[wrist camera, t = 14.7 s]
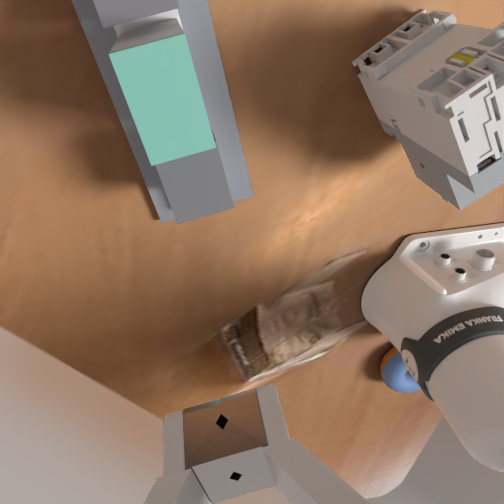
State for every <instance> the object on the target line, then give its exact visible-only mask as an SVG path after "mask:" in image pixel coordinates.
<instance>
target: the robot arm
mask: <svg viewBox="0 0 504 504" xmlns="http://www.w3.org/2000/svg"><path fill="white" fill-rule="evenodd" d="M421 243H422V244H421ZM361 308H362V313H363V315H364V317H365V319H366V320H367V321H368V322H369V323H370V324H371V325H373V326H374V327H375V328H377V329H378V330H379V331H380V332H381V333H382V334H383V335H384V336H385V337H386V338H387V339H388V340H389V341H390V342H391V343H392V344H393V345H394V347H395V348H396V349H397V350H398V351H399V353H400V354H401V357H402V359H403V362H404V364H405V366H406V367H407V369H408V371H409V373H410V374H411V376H412V377H413V379H414V380H415V381H416V382H417V383H418V385H419V386H420V388H421V389H422V390H423V392H424V393H425V395H426V396H427V397H428V398H429V399H430V400H432V401H434V402H435V403H436V405H437V406H438V408H439V409H440V411H441V412H442V414H443V416H444V417H445V418H446V420H447V422H448V423H449V425H450V426H451V427H452V429H453V430H454V432H455V434H456V435H457V437H458V438H459V440H460V441H461V443H462V444H463V446H464V447H465V449H466V450H467V452H468V453H469V454H470V455H471V456H472V457H474V458H475V459H476V460H477V461H478V462H480V463H481V464H483V465H484V466H487V467H489V468H491V469H493V470H496V471H499V472H504V223H499V224H491V225H483V226H475V227H467V228H460V229H452V230H444V231H436V232H429V233H421V234H413V235H410V236H408V237H407V238H405V239H404V240H403V242H402V243H401V244H400V246H399V248H398V249H397V251H396V252H395V254H394V255H393V256H392V258H391V259H389V260H388V261H387V262H386V263H385V264H384V265H383V266H381V267H380V268H379V269H378V270H377V271H376V272H375V274H374V275H373V276H372V277H371V279H370V280H369V282H368V283H367V285H366V287H365V289H364V292H363V295H362V300H361ZM273 486H276V487H277V488H278V489H279V491H280V492H281V493H282V494H283V495H284V496H285V497H286V499H288V501H289V502H290V503H291V504H369V503H368V501H366V499H364V498H363V497H362V496H361V495H360V494H359V493H358V492H356V491H355V490H354V489H353V488H352V487H351V486H350V485H348V484H347V483H346V482H345V481H344V480H343V479H342V478H341V477H339V476H338V475H337V474H336V473H335V472H334V471H333V470H331V469H330V468H329V467H328V466H327V465H326V464H325V463H324V462H322V461H321V460H320V459H319V458H318V457H317V456H316V455H314V454H313V453H312V452H311V451H310V450H309V449H308V448H307V447H305V446H304V445H303V444H302V443H301V442H300V441H299V440H297V439H296V438H293V439H290V435H289V432H288V428H287V424H286V421H285V417H284V414H283V410H282V407H281V403H280V400H279V396H278V393H277V389H276V386H275V384H274V383H272V384H269V385H266V386H262V387H259V388H254V389H250V390H247V391H244V392H241V393H237V394H234V395H231V396H227V397H224V398H221V399H220V400H216V401H213V402H209V403H205V404H201V405H197V406H194V407H190V408H186V409H182V410H179V411H175V412H172V413H168V414H165V417H164V421H163V476H162V477H159V478H157V480H156V482H155V483H154V485H153V487H152V489H151V491H150V492H149V494H148V496H147V498H146V500H145V502H144V503H143V504H215V503H218V502H221V501H224V500H227V499H231V498H234V497H237V496H240V495H243V494H246V493H250V492H254V491H257V490H261V489H265V488H269V487H273Z"/></svg>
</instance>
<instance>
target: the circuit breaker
mask: <svg viewBox="0 0 504 504" xmlns="http://www.w3.org/2000/svg"><path fill="white" fill-rule="evenodd" d="M438 19H439V21H438ZM416 22H417V23H416ZM456 22H457V20H456V18H455V16H454V14H453V13H448V12H441V11H431V12H430V13H426V10H425V9H423V10H421V11H420V12H419V13H417V14H416V15H415V16H413V17H412V18H411V19H409V20H408V21H407V22H405V23H404V24H402V25H401V26H400V27H398V28H397V29H396V30H394V31H393V32H392V33H390V34H389V35H388V36H386V37H385V38H384V39H382V40H381V41H379V42H378V43H377V44H375V45H374V46H373V47H371V48H370V49H369V50H367V51H366V52H365V53H363V54H362V55H361V56H359V57H358V58H356V59H355V60H354V61H352V64H353V66H357V65H358V67H359V69H360V71H361V72H360V73H359V74H357V75H358V77H359V79H360V81H361V83H362V85H363V87H364V90H365V92H366V94H367V96H368V98H369V100H370V102H371V104H372V107H373V109H374V111H375V113H376V115H377V117H378V119H379V122H380V124H381V126H382V128H383V130H384V132H386V133H387V134H389V135H390V136H392V137H394V136H396V140H398V141H399V142H400V143H402V145H403V148H404V150H405V152H406V154H407V156H408V159H409V161H410V163H411V165H412V167H413V170H414V172H415V174H416V176H417V177H418V178H419V179H420V180H422V181H423V182H424V183H425V184H427V185H428V186H429V187H431V188H432V189H433V190H435V191H436V192H437V193H438V194H440V195H441V196H442V198H443V199H444V200H445V201H447V202H448V201H449V202H450V203H451V204H453V205H454V206H455V207H457V208H458V209H459V210H462V209H463V208H465V207H466V206H468V205H469V204H471V203H473V202H474V201H476V200H477V199H479V198H480V197H482V196H484V195H485V194H487V193H488V192H490V191H491V190H493V189H495V188H496V187H498V186H499V185H501V184H502V183H504V22H503V23H501V24H500V25H498V26H497V27H496V28H494V29H493V30H492V29H486V28H479V27H473V26H467V25H461V24H456ZM407 27H409V29H410V30H408V31H407V32H405V31H403V30H404V29H405V28H407ZM396 36H397V37H396ZM386 43H388V44H386ZM380 47H381V48H382V50H381V51H380V52H378V53H376V52H374V51H375V50H377V49H378V48H380ZM367 57H369V59H370V61H371V63H372V64H370V65H369V66H368V65H367V66H366V64H365V62H364V61H363V60H365V59H366V58H367Z"/></svg>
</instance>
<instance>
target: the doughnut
mask: <svg viewBox="0 0 504 504" xmlns="http://www.w3.org/2000/svg"><path fill="white" fill-rule="evenodd" d="M380 374H381V376H382V378H383V380H384V382H385V384H386V385H387V386H388V387H389V388H391V389H393V390H394V391H397V392H403V393H407V392H414V391H418V390H421V388H420V386H419V385H418V383H417V382H416V381H415V380H414V379H413V377H412V376H411V374H410V373H409V371H408V369H407V367H406V366H405V364H404V362H403V359H402V357H401V354H400V353H399V351H398V350H397V349H396V348H395V347H394V346H393V347H392V348H391V349H390V350H389V351H388V352H387V353H386V354H385V356H384V357H383V359H382V362H381V364H380Z"/></svg>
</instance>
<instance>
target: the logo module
mask: <svg viewBox="0 0 504 504" xmlns="http://www.w3.org/2000/svg"><path fill="white" fill-rule="evenodd" d="M109 57H110V59H111V62H112V65H113V67H114V70H115V72H116V75H117V78H118V80H119V83H120V85H121V88H122V91H123V93H124V96H125V99H126V101H127V104H128V106H129V109H130V112H131V114H132V117H133V119H134V122H135V125H136V127H137V130H138V132H139V135H140V138H141V140H142V143H143V145H144V148H145V151H146V153H147V156H148V158H149V161H150V164H151V166H153V165H156V164H160V163H164V162H167V161H171V160H174V159H178V158H181V157H185V156H188V155H192V154H195V153H199V152H202V151H206V150H209V149H213V148H216V145H215V141H214V138H213V134H212V130H211V127H210V123H209V120H208V116H207V112H206V109H205V105H204V101H203V98H202V94H201V91H200V87H199V83H198V80H197V76H196V73H195V69H194V65H193V62H192V58H191V55H190V51H189V47H188V44H187V40H186V36H185V33H184V31H183V29H182V27H181V26H180V24H179V22H178V20H177V19H173V20H169V21H165V22H162V23H158V24H154V25H151V26H147V27H143V28H139V29H136V30H132V31H128V32H125V33H121V34H120V35H119V37H118V38H117V40H116V42H115V44H114V45H113V47H112V49H111V51H110V52H109Z"/></svg>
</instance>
